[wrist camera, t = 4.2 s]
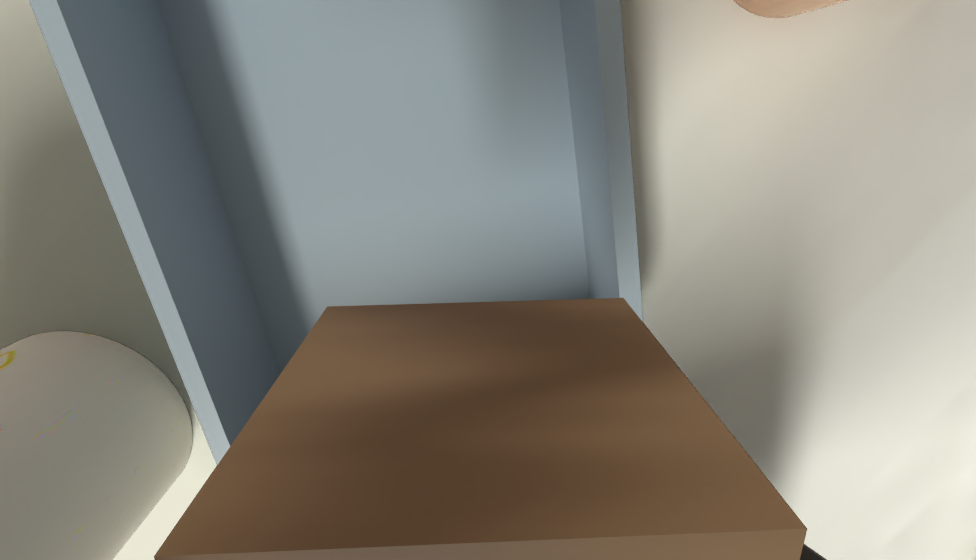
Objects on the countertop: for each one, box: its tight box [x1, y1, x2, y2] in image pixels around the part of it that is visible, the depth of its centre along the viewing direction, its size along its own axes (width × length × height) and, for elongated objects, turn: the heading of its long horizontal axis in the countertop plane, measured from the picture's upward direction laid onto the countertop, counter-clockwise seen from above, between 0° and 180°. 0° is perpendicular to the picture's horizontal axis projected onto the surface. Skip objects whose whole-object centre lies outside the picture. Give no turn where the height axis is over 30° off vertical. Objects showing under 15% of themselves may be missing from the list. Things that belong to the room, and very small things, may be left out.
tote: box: [29, 0, 643, 465], centre depth 15 cm, size 17×13×5 cm
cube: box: [154, 298, 807, 560], centre depth 7 cm, size 5×5×5 cm
